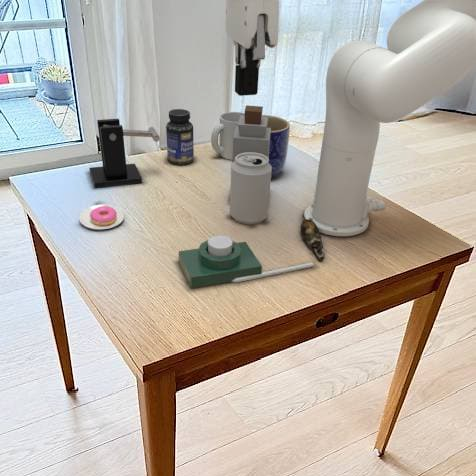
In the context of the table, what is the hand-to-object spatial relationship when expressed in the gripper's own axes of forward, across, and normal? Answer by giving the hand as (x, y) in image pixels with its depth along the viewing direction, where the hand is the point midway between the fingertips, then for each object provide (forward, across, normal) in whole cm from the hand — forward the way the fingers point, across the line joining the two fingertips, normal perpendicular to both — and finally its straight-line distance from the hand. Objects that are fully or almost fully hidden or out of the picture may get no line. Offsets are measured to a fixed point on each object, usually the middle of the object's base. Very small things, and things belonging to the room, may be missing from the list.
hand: (246, 93), depth 82 cm
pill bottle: (+25, +36, +2) cm, 44 cm away
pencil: (+26, -14, -1) cm, 29 cm away
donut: (+25, +13, +24) cm, 37 cm away
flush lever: (+17, +30, +14) cm, 37 cm away
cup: (+25, +36, -10) cm, 45 cm away
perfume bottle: (+25, +14, -7) cm, 30 cm away
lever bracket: (+25, +30, +18) cm, 43 cm away
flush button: (+22, -10, +7) cm, 25 cm away
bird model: (+25, -6, -12) cm, 29 cm away
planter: (+25, +25, -14) cm, 38 cm away
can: (+25, +6, -4) cm, 26 cm away
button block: (+25, -10, +7) cm, 28 cm away
